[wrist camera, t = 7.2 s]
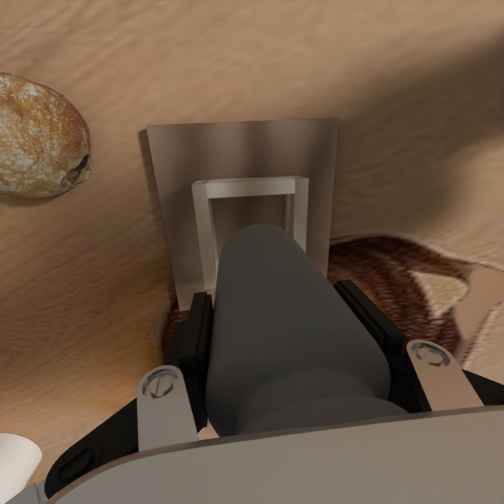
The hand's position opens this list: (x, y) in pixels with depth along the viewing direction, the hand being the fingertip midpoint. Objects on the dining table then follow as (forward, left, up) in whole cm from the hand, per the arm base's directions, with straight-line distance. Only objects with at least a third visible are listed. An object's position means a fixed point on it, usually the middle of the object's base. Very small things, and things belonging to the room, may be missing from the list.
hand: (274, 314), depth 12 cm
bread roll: (+20, -9, -17) cm, 28 cm away
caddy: (0, 0, -17) cm, 17 cm away
